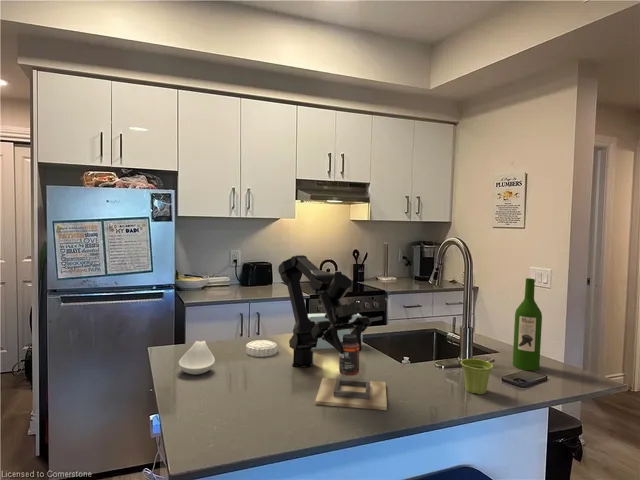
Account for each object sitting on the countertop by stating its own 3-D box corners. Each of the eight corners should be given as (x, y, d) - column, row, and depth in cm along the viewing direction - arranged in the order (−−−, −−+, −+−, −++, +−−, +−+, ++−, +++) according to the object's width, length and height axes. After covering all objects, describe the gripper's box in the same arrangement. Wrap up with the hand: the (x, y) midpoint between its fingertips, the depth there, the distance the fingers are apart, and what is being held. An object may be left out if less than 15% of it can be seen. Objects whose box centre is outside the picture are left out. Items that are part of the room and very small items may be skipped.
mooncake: (266, 359, 159) (266, 349, 159) (239, 354, 164) (239, 345, 164) (282, 350, 170) (282, 341, 170) (257, 346, 175) (257, 337, 175)
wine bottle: (513, 368, 155) (517, 279, 154) (512, 361, 164) (516, 276, 162) (540, 372, 152) (545, 281, 150) (538, 364, 160) (542, 278, 159)
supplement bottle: (356, 368, 131) (357, 332, 131) (361, 376, 126) (362, 338, 125) (337, 369, 130) (337, 333, 130) (341, 377, 125) (342, 338, 124)
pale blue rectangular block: (307, 350, 171) (308, 317, 170) (304, 345, 176) (305, 313, 176) (362, 347, 176) (363, 315, 176) (358, 343, 182) (359, 312, 181)
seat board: (315, 404, 121) (315, 395, 121) (322, 380, 139) (322, 373, 139) (386, 410, 119) (387, 401, 118) (385, 385, 136) (385, 377, 136)
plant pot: (476, 399, 128) (477, 370, 127) (453, 387, 136) (454, 360, 135) (498, 393, 132) (499, 366, 131) (474, 383, 140) (475, 357, 140)
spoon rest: (214, 377, 140) (214, 356, 139) (176, 379, 137) (176, 357, 137) (216, 354, 163) (216, 336, 162) (184, 356, 160) (184, 337, 160)
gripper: (317, 294, 125) (336, 342, 116) (368, 290, 135) (389, 334, 126) (303, 315, 133) (320, 361, 124) (353, 310, 142) (372, 352, 133)
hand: (351, 352), depth 126 cm, fingers closed on supplement bottle, 6 cm apart
